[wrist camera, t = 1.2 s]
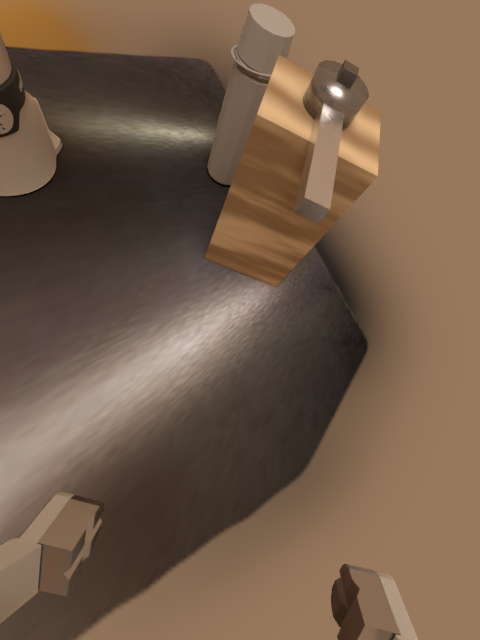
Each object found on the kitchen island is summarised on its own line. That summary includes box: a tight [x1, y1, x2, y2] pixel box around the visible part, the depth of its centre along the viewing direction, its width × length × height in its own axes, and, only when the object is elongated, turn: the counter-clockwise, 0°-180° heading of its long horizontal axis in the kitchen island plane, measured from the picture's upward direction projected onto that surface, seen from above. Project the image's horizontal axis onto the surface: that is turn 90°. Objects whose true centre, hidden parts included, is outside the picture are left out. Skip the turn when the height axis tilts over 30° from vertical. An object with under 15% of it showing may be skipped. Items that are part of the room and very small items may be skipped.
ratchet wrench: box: [294, 60, 369, 223], centre depth 28 cm, size 20×6×4 cm, turn 166°
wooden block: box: [204, 55, 381, 287], centre depth 44 cm, size 12×14×26 cm
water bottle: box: [207, 3, 295, 185], centre depth 49 cm, size 9×8×25 cm
